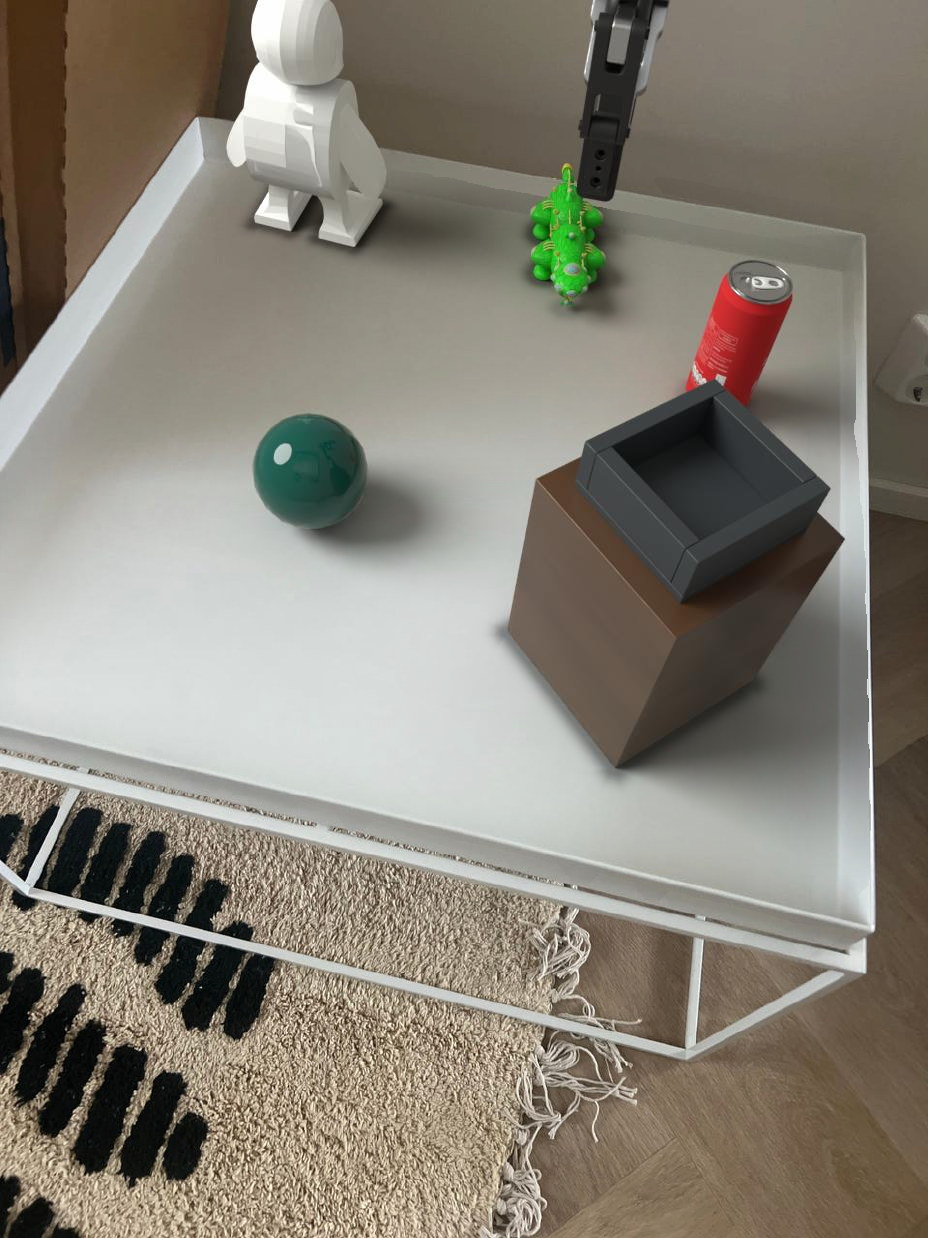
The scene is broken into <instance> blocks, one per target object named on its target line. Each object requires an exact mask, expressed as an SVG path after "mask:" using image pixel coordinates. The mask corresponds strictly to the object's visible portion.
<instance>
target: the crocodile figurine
mask: <svg viewBox="0 0 928 1238" xmlns="http://www.w3.org/2000/svg"><path fill="white" fill-rule="evenodd" d="M573 173H574V169H573V167H572V165H571V164H570V163H564V164H563V166H562V168H561V174H562V178H561V183H562V181H564V182H569V183H568V184H567V183H562V184H561V183H559V184H560V185H558V186H557V187H553V191H552V192H551V194H550V198H549V199H548V198H547V199H543V200H541V201H540V202H539V203H538V204H536V205H534V206H532V207H531V209H530V212H529V214H530V218H531V221H533V222H534V223H536V224H535V226H534V227H533V230H532V233H533V236H534V237H535V238H536V239H538V240H543V241H541V242H540V243H539V244H537V245H536V246H534V247H532V248H531V250H530V256H531V257H530V260H531V261H532V262H533V263H534V264H536V265H535V266H534V268H533V275H534V277H535V278H536V279H538V280H539V281H548V280H551V282H553V286H554V287H553V288H554V289H555V292H556V293H557V294H558V295H559V296H560V297H562V298H563V299H564V300H561V302H560V305H561V307H564V306H565V307H568V306H569V307H573V306H574V303H573V301H570V300H573V299H575V298H576V297H578V296H579V295H581V296H583V294H584V293H586V292H588V290H589V286H590V284H593V283H595V282H596V280H597V277H598V273H597V271H596V270H600V269H601V268H603V267H604V266H605V265H606V260H607V256H606V254H605V253H604V252H603V251H601V250H600V249H599V248H598V247H596V245H594V244H593V243H592V241H594V239H595V232H594V230H593V229H595V228H598V227H599V226H601V225H602V223H603V219H604V215H603V213H602V212H601V211H600V210H598V209H597V208H596V207H595V206H594V205H592V204H591V203H590V202H588V201H587V200H584V201H583V199H584V198H582V197H580V196H579V195H578V194H577V192H576V186H574V185H570V182H571V183H574V182H576V183H577V179H575V175H574V174H573ZM553 179H557V176H554V178H553Z"/></svg>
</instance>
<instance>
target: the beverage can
mask: <svg viewBox="0 0 928 1238" xmlns="http://www.w3.org/2000/svg"><path fill="white" fill-rule="evenodd" d="M793 291H794V283H793V279H792V278H791V276H790V275H789V274H788V272H786V270H784V269H783V268H782V267H780V266H779V265H777V264H775V263H772V262H770V261H767V260H763V259H762V260H761V259H745V260H744V259H743V260H741V261H738V262H736V263H734V264H733V265H732V266H731V267H730V268H729V270H728V272H727V273H726V274H725V275H724V276H723V277H722V280H721V282H720V284H719V287H718V291H717V293H716V296H715V299H714V302H713V304H712V308H711V311H710V313H709V317H708V318H707V319H708V320H707V322H706V326H705V328H704V331H703V334H702V336H701V339H700V343H699V345H698V349H697V351H696V355H695V357H694V360H693V363H692V366H691V369H690V372H689V374H688V376H687V380H686V384H685V393H686V392H688V391H690V390H692V389H694V388H696V387H698V386H700V385H702V384H704V383H706V382H708V381H710V380H713V379H716V380H717V381H718V382H719V383H720V384H721V385H722V386H723V387H724V388H725V389H726V390H728V391H729V392H730V393H731V394H732V395H733V396H734V397H735V398H736V399H737V400H738V401H739V402H740V403H741V404H742V405H743V406H745V407H746V408H747V406H748V405H749V403H750V400H751V399H752V396H753V394H754V392H755V389H756V387H757V385H758V382H759V379H760V377H761V375H762V373H763V370H764V368H765V366H766V363H767V361H768V358H769V356H770V354H771V352H772V349H773V347H774V344H775V342H776V340H777V338H778V335H779V333H780V330H781V328H782V326H783V324H784V321H785V319H786V317H787V315H788V311H789V309H790V307H791V305H792V302H793Z"/></svg>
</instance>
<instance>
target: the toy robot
mask: <svg viewBox="0 0 928 1238" xmlns="http://www.w3.org/2000/svg"><path fill="white" fill-rule="evenodd" d="M250 30H251V31H250V33H251V39H252V42H253V43H252V44H253V47H254V50H255V53H256V58H257V59H258V61H259V62H258V63H257V64H256V65H255V67H254V68H253V70H252V71H251V73H250V76H249V79H248V82H247V85H246V90H245V95H244V101H243V108H242V110H241V111H240V113H239V114H238V116H237V117H236V119H235V121H234V122H233V124H232V127H231V130H230V132H229V135H228V138H227V141H226V147H225V148H226V153H227V157H228V159H229V161H230V163H231V165H233V166H234V167H235V168H239V167H241V166H242V165H243V164H244V163H245V162H246V167H247V170H248V173H249V176H250V177H251V179H252V180H253V181H254V182H258V183H262V184H265V185H268V192H267V193H266V195H265V196H264V199H263V201H262V202H261V204H260V205H259V207H258V209H257V210H256V212H255V214H254V217H253V219H254V222H255V223H256V224H260V225H263V226H268V227H270V228H271V227H272V228H276V229H280V230H284V231H288V232H292V230H293V229H294V227H295V225H296V224H297V222H298V220H299V218H300V217H301V215H302V213H303V212H304V210H305V209H306V206H307V205H308V203H309V201H310V200H311V198H312V196H315V197H317V198H318V200H319V201H320V203H321V205H322V209H323V220H322V221H323V222H322V224H321V225H320V228H319V230H318V239H321V240H324V241H329V242H333V243H336V244H341V245H345V246H349V247H352V248H356V246H357V245H358V243H359V241H360V240H361V238H362V237H363V235H364V234H365V232H366V231H367V230H368V228H369V226H370V225H371V223H372V222H373V221H374V219H375V217H376V215H377V214H378V213H379V211H380V209H381V208H382V206H383V205H384V202H383V198H379V197H380V195H381V194H382V192H383V191H384V189H385V185H386V183H387V167H386V162H385V159H384V157H383V155H382V151H381V150H380V148H379V147H378V144H377V143H376V142H377V141H376V140H375V139H374V136H373V135H372V134H371V132H370V131H369V129H368V128H367V127H366V125H365V124H364V122H363V121H362V120H361V118H360V113H359V105H358V99H357V98H358V97H357V93H356V88H355V85H354V83H353V82H352V81H351V80H348V79H343V78H339V77H338V76H339V75H340V73H341V72H342V70H343V68H344V58H343V57H344V56H343V52H344V34H343V33H344V32H343V26H342V23H341V20H340V16H339V13H338V11H337V8H336V6H335V4H334V3H333V2H332V1H331V0H257V2H256V5H255V8H254V12H253V13H252V19H251V29H250ZM352 183H353V185H354V186H355V188H356V189H357V190H358V191H359V192H358V191H354V190H351V189H350V187H351V184H352ZM255 223H254V224H255Z"/></svg>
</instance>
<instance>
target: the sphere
mask: <svg viewBox="0 0 928 1238" xmlns="http://www.w3.org/2000/svg"><path fill="white" fill-rule="evenodd" d="M251 466H252V468H251V469H252V477H253V484H254V485H253V486H254V489H255V492H256V493H257V495H258V497H259V498H260V500H261V503H262V504H263V505H264V507H265V508H266V510H267V511H268V512H270V513H271V514H272V515H273V516H274V517H276V518H277V519H278V520H280V522H282V523H284V524H287V525H290V526H293V527H295V528H298V529H304V530H319V529H325V528H329V527H331V526H334V525H336V524H338V523H340V522H342V521H344V520H345V519H346V518H347V517H349V515H351V514H352V513H354V511H355V510H356V508H357V507H358V506H359V504H360V502H361V501H362V499H363V498H364V496H365V493H366V490H367V484H368V479H369V466H368V462H367V455H366V452H365V449H364V447H363V445H362V444H361V442H360V441H359V439H358V437H356V435H355V434H354V432H353V431H352V430H351V429H349V428H348V427H347V426H345V424H343V423H341V422H340V421H339V420H337V419H335V418H332V417H329V416H327V415H325V414H319V413H311V412H306V413H300V414H293V415H291V416H288V417H286V418H283V419H281V420H280V421H278V422H276V424H274V425H272V426H271V427H270V428H269V429H268V430H267V432H266V433H265V434H264V435H263V437H262V438H261V439H260V441H259V442H258V444H257V446H256V450H255V452H254V456H253V460H252V465H251Z"/></svg>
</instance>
